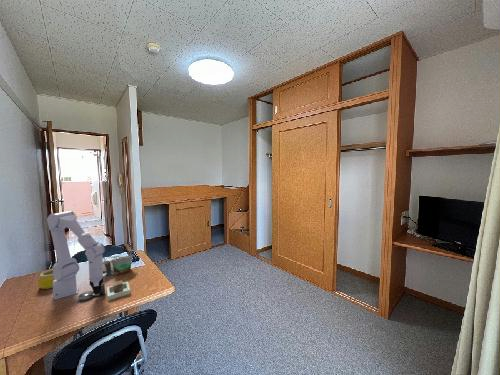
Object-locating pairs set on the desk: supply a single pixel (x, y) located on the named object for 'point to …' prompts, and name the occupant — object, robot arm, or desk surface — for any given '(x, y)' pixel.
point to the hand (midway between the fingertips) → (96, 293)
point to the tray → (119, 294)
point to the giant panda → (108, 266)
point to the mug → (46, 279)
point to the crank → (91, 294)
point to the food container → (122, 265)
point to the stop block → (118, 286)
